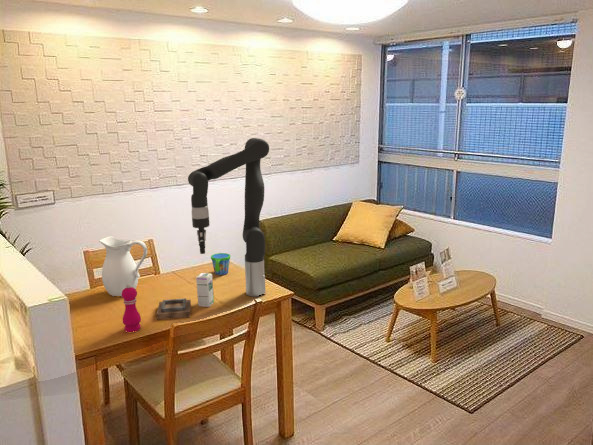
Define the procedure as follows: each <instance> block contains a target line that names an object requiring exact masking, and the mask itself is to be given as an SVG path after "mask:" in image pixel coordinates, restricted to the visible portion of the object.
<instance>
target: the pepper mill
mask: <svg viewBox="0 0 593 445" xmlns="http://www.w3.org/2000/svg"><path fill="white" fill-rule="evenodd" d="M126 287H127V288H125V289H123V291H122V296H121V298H122V299H123V304H124V312H123V315H122V324H123V325H124V332H125V331H127V332H133V331H134V333H136V332H135V331H137V332H138V330H139V329H140V328H141V322H142V321H141V320H142V317H141V315H140V313H139V311H138V309H137V306H136V305H137V304H136V303H137V295H138V291H137V289H135V288H133V287H131V285H130V284H127V285H126ZM140 330H141V329H140ZM140 330H139V331H140ZM127 332H126V333H127Z"/></svg>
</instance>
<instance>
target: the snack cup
mask: <svg viewBox="0 0 593 445" xmlns="http://www.w3.org/2000/svg"><path fill="white" fill-rule="evenodd" d="M210 260H211V262H212V266H213V271H214V274H215V275H218V276H223V275H226V274H228V273H229V269H230V260H231V254H230V253H224V252H222V253H221V252H219V253H214V254H212V255H211V256H210Z"/></svg>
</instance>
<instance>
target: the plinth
mask: <svg viewBox="0 0 593 445" xmlns="http://www.w3.org/2000/svg"><path fill="white" fill-rule="evenodd" d="M191 303H192V302H191V299H187V298H174V299H163V300H162V301H159V302H158V306H157V311H156V320H157V321H159V320H169V319H170V320H171V319H180V318H191V309H192V306H191Z"/></svg>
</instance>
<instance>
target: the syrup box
mask: <svg viewBox="0 0 593 445" xmlns="http://www.w3.org/2000/svg"><path fill="white" fill-rule="evenodd" d="M195 280H196V291H197V292H196V294H197V304H198V307H203V308H205V307H206V308H210V307H211V306H212V305H213V304H214V303H215V297H214V282H213V273H210V272H209V273H208V272H201V273H199V274H198V275H197V276H196V277H195Z"/></svg>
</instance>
